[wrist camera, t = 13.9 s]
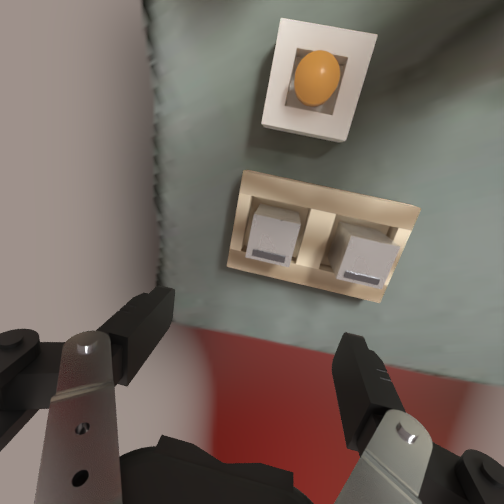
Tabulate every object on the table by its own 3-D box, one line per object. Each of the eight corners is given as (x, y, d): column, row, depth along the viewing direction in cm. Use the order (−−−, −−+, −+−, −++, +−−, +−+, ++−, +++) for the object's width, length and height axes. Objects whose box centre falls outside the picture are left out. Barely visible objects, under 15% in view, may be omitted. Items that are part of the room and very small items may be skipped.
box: (281, 34, 24) (280, 17, 21) (367, 49, 23) (377, 34, 21) (264, 127, 27) (261, 123, 24) (339, 142, 26) (345, 140, 23)
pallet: (247, 169, 28) (243, 170, 26) (410, 204, 27) (421, 208, 25) (231, 258, 32) (226, 266, 30) (373, 292, 31) (379, 303, 29)
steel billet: (260, 203, 29) (253, 214, 23) (298, 211, 29) (301, 224, 23) (253, 239, 31) (244, 257, 25) (289, 247, 30) (289, 268, 25)
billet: (339, 221, 28) (351, 236, 23) (378, 229, 28) (401, 247, 22) (327, 256, 30) (336, 279, 24) (364, 265, 30) (382, 290, 24)
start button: (300, 56, 22) (300, 46, 20) (341, 63, 22) (346, 54, 20) (289, 102, 23) (290, 97, 22) (328, 110, 23) (332, 106, 21)
